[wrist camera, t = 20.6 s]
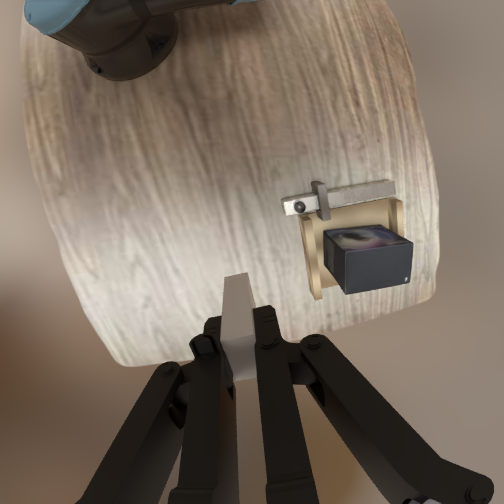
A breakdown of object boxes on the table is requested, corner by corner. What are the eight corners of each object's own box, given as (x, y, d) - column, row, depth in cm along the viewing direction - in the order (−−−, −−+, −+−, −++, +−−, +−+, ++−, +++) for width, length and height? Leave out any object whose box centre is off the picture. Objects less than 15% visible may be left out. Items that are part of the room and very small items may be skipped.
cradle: (292, 186, 41) (298, 189, 37) (388, 169, 40) (399, 171, 37) (310, 290, 47) (315, 300, 43) (394, 268, 46) (404, 276, 43)
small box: (381, 221, 43) (416, 240, 33) (380, 258, 45) (411, 284, 35) (321, 228, 43) (346, 250, 33) (323, 266, 45) (345, 297, 35)
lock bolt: (281, 199, 41) (284, 203, 38) (387, 179, 41) (397, 182, 38) (283, 212, 42) (287, 217, 39) (388, 191, 41) (398, 195, 38)
